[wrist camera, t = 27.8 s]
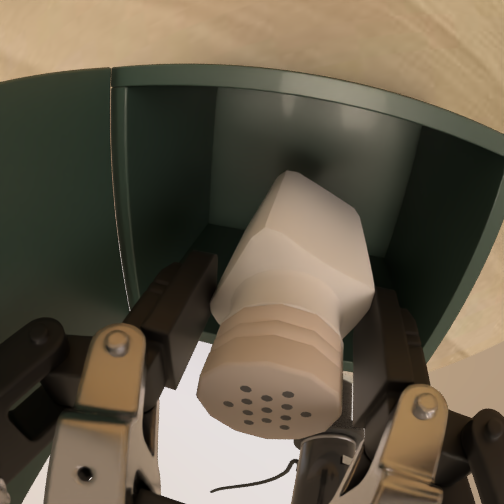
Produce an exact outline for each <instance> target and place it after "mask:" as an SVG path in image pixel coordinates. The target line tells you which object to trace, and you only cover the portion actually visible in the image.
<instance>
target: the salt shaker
mask: <svg viewBox="0 0 504 504" xmlns="http://www.w3.org/2000/svg"><path fill="white" fill-rule="evenodd" d="M374 293H375V288H374V281H373V275H372V270H371V265H370V260H369V255H368V251H367V246H366V242H365V237H364V233H363V228H362V224H361V220H360V216H359V215H358V213H357V212H356V210H355V209H354V208H353V207H352V206H350V205H349V204H347V203H346V202H344V201H343V200H341V199H339V198H338V197H336V196H335V195H333V194H332V193H330V192H329V191H327V190H326V189H324V188H322V187H321V186H319V185H318V184H316V183H315V182H313V181H311V180H310V179H308V178H306V177H305V176H303V175H302V174H300V173H298V172H294V171H288V170H286V171H285V172H284V173H282V174H281V175H279V176H278V177H277V179H276V180H275V182H274V183H273V185H272V187H271V188H270V190H269V192H268V193H267V195H266V196H265V198H264V200H263V201H262V203H261V205H260V206H259V208H258V210H257V211H256V213H255V214H254V216H253V218H252V219H251V221H250V223H249V224H248V226H247V228H246V230H245V232H244V234H243V236H242V238H241V240H240V242H239V244H238V246H237V248H236V250H235V252H234V253H233V255H232V257H231V259H230V261H229V263H228V265H227V267H226V269H225V271H224V273H223V275H222V277H221V279H220V282H219V284H218V286H217V288H216V290H215V292H214V294H213V296H212V298H211V300H210V311H211V313H212V315H213V316H214V318H215V319H216V321H217V322H218V324H220V327H219V330H218V332H217V336H216V339H215V340H214V343H213V345H212V347H211V352H210V353H209V355H208V357H207V360H206V362H205V364H204V367H203V369H202V372H201V374H200V378H199V383H198V388H197V394H196V395H197V398H198V399H199V401H200V402H201V403H202V405H203V406H204V408H205V409H206V410H207V412H208V413H209V414H210V416H212V417H213V418H215V419H217V420H218V421H220V422H222V423H223V424H225V425H227V426H229V427H230V428H232V429H234V430H236V431H239V432H243V433H246V434H250V435H254V436H257V437H261V438H265V439H301V438H305V437H308V436H312V435H315V434H318V433H321V432H325V431H326V430H327V429H328V428H329V427H330V426H331V425H332V424H333V423H334V422H335V421H336V420H337V419H338V418H339V417H340V416H341V414H342V393H343V389H342V386H343V373H342V372H343V349H344V343H343V340H342V339H343V338H344V337H345V336H346V335H347V334H348V333H349V332H350V331H351V330H352V329H353V328H354V327H355V326H356V325H357V324H358V322H359V321H360V320H361V319H362V318H363V316H364V315H365V314H366V313H367V311H368V310H369V309H370V307H371V303H372V300H373V297H374Z"/></svg>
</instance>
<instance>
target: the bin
mask: <svg viewBox="0 0 504 504" xmlns="http://www.w3.org/2000/svg"><path fill="white" fill-rule="evenodd" d="M111 87H113V88H111V151H112V172H113V187H114V199H115V210H116V220H117V229H118V237H119V244H120V251H121V259H122V266H123V272H124V279H125V285H126V291H127V296H128V302H129V307H130V311H131V309H132V308H133V307H134V305H135V304H136V302H137V301H138V300H139V298H140V297H141V296H142V294H143V293H144V292H145V291H147V288H148V287H149V285H150V284H151V283H152V282H153V281H154V279H155V277H156V276H157V275H158V273H159V272H160V271H161V270H162V269H163V268H165V267H167V266H168V265H170V264H172V263H173V262H178V263H184V261H185V260H186V259H187V257H188V256H189V254H190V253H191V252H192V251H193V250H198V251H203V252H208V253H213V254H217V256H218V268H217V286H218V284H219V282H220V279H221V277H222V275H223V273H224V271H225V269H226V267H227V265H228V263H229V261H230V259H231V257H232V255H233V253H234V252H235V250H236V248H237V246H238V244H239V242H240V240H241V238H242V236H243V234H244V232H245V230H246V228H247V226H248V224H249V223H250V221H251V219H252V218H253V216H254V214H255V213H256V211H257V210H258V208H259V206H260V205H261V203H262V201H263V200H264V198H265V196H266V195H267V193H268V192H269V190H270V188H271V187H272V185H273V183H274V182H275V180H276V179H277V177H278V176H279V175H281V174H282V173H284V172H285V171H286V170H288V171H294V172H298V173H300V174H302V175H303V176H305V177H306V178H308V179H310V180H311V181H313V182H315V183H316V184H318V185H319V186H321V187H322V188H324V189H326V190H327V191H329V192H330V193H332V194H333V195H335V196H336V197H338V198H339V199H341V200H343V201H344V202H346V203H347V204H349V205H350V206H352V207H353V208H354V209H355V210H356V212H357V213H358V215H359V216H360V220H361V224H362V228H363V233H364V237H365V242H366V246H367V251H368V255H369V260H370V265H371V270H372V275H373V281H374V286H377V287H382V288H387V289H392V290H395V291H396V294H397V298H398V302H399V306H400V307H401V308H406V309H408V311H409V312H410V314H411V315H412V316H413V318H414V319H415V321H416V324H417V328H418V332H419V335H418V336H420V340H421V347H422V348H423V352H424V357H425V361H426V364H427V362H428V361H429V359H430V358H431V356H432V355H433V353H434V352H435V350H436V349H437V347H438V346H439V344H440V343H441V341H442V340H443V338H444V337H445V335H446V333H447V332H448V330H449V329H450V327H451V325H452V324H453V322H454V320H455V319H456V317H457V315H458V314H459V312H460V310H461V308H462V307H463V305H464V303H465V301H466V299H467V297H468V296H469V294H470V292H471V290H472V288H473V286H474V284H475V282H476V280H477V278H478V276H479V274H480V272H481V270H482V268H483V266H484V264H485V262H486V260H487V258H488V255H489V253H490V251H491V249H492V246H493V244H494V242H495V239H496V237H497V235H498V232H499V230H500V227H501V225H502V222H503V220H504V134H502V133H500V132H498V131H496V130H494V129H492V128H490V127H487V126H485V125H483V124H481V123H478V122H476V121H474V120H471V119H469V118H466V117H464V116H462V115H459V114H456V113H454V112H451V111H449V110H446V109H443V108H440V107H438V106H435V105H432V104H429V103H426V102H423V101H420V100H417V99H414V98H411V97H407V96H404V95H401V94H397V93H394V92H390V91H387V90H383V89H379V88H375V87H371V86H367V85H363V84H359V83H355V82H350V81H346V80H341V79H336V78H331V77H325V76H320V75H314V74H308V73H302V72H295V71H288V70H280V69H272V68H262V67H251V66H238V65H221V64H152V65H135V66H123V67H113V68H112V69H111ZM219 327H220V324H218V322H217V321H216V319H215V318H214V316H213V315H212V313H211V315H210V317H209V319H208V322H207V324H206V326H205V328H204V330H203V332H202V334H201V337H200V339H199V341H202V342H206V343H210V344H213V343H214V340H215V339H216V336H217V332H218V330H219ZM354 328H355V327H354ZM354 328H353V329H352V330H351V331H350V332H349V333H348V334H347V335H346V336H345V337H344V338H343V339H342V340H343V343H344V349H343V371H348V372H353V332H354Z"/></svg>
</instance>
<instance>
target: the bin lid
mask: <svg viewBox="0 0 504 504" xmlns="http://www.w3.org/2000/svg"><path fill="white" fill-rule="evenodd" d="M110 83H111V68H109V67H105V68H91V69H79V70H70V71H61V72H54V73H46V74H40V75H34V76H28V77H23V78H17V79H12V80H8V81H3V82H0V344H1V343H3V342H4V341H5V340H6V339H8V338H9V337H10V336H12V335H13V334H14V333H16V332H17V331H18V330H19V329H21V328H22V327H23V326H25V325H26V324H27V323H29V322H30V321H32V320H34V319H37V318H41V317H50V318H54V319H56V320H58V321H59V322H60V323H61V324H62V326H63V328H64V331H65V333H66V334H68V335H80V336H94V334H95V333H96V332H97V331H98V330H100V329H101V328H103V327H105V326H107V325H110V324H114V323H122V321H123V320H124V319H125V317H126V316H127V315H128V313H129V312H130V311H129V305H128V299H127V294H126V289H125V283H124V277H123V270H122V264H121V257H120V250H119V242H118V235H117V226H116V217H115V207H114V196H113V183H112V167H111V145H110ZM40 386H41V383H40V382H39V383H37V384H36V385H35V386H34V387H33V388H32V389H31V390H29V391H28V392H27V393H26V394H25V395H24V396H23V397H21V398H20V399H19V400H18V401H17V402H16V403H15V404H14V405H12V407H11V408H10V409H9V411H10V410H13V409H15V408H16V407H17V406H18V405H19V404H20V403H22V402H23V401H24V400H25V399H26V398H27V397H28V396H29V395H31V394H32V393H33V392H34V391H35V390H36V389H37V388H39V387H40ZM52 443H53V441H52V442H51V443H50V444H49V445H48V446H46V447H45V448H44V449H43V450H42V451H41V452H40V453H39V454H38V455H37V456H36V457H35V458H34V459H33V460H32V461H31V462H30V463H29V464H28V465H27V466H26V467H25V468H24V469H23V470H22V471H21V472H20V473H19V474H18V475H17V476H16V477H15V478H14V479H13V480H12V481H11V482H10V483H9V484H7V485H6V489H7V492H8V493H9V495H10V499H11V500H10V504H22V502H23V500H24V498H25V496H26V494H27V493H28V491H29V489H30V487H31V486H32V484H33V482H34V481H35V479H36V477H37V476H38V474H39V472H40V470H41V469H42V467H43V465H44V463H45V462H46V460H47V459H48V457H49V455H50V454H51V449H52Z"/></svg>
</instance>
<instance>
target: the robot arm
mask: <svg viewBox="0 0 504 504" xmlns="http://www.w3.org/2000/svg"><path fill="white" fill-rule="evenodd" d="M217 268H218V256H217V254H213V253H208V252H203V251H198V250H193V251H192V252H191V253H190V254H189V256H188V257H187V259H186V260H185V261H184V263H178V262H173V263H172V264H170V265H168V266H167V267H165V268H163V269H162V270H161V271H160V272H159V273H158V275H157V276H156V277H155V279H154V281H153V282H152V283H151V284H150V285H149V287H148V288H147V291H145V292H144V293H143V294H142V296H141V297H140V298H139V300H138V301H137V302H136V304H135V305H134V307H133V308H132V309H131V311H130V312H129V313H128V315H127V316H126V317H125V319H124V320H123V321H122V323H114V324H110V325H107V326H105V327H103V328H101V329H100V330H98V331H97V332H96V333H95V334H94V336H80V335H68V334H66V333H65V331H64V328H63V326H62V324H61V323H60V322H59V321H58V320H56V319H54V318H50V317H41V318H37V319H34V320H32V321H30V322H29V323H27V324H26V325H25V326H23V327H22V328H21V329H19V330H18V331H17V332H16V333H14V334H13V335H12V336H10V337H9V338H8V339H6V340H5V341H4V342H3V343H1V344H0V504H10V500H11V499H10V495H9V493H8V492H7V489H6V485H7V484H9V483H10V482H11V481H12V480H13V479H14V478H15V477H16V476H17V475H18V474H19V473H20V472H21V471H22V470H23V469H24V468H25V467H26V466H27V465H28V464H29V463H30V462H31V461H32V460H33V459H34V458H35V457H36V456H37V455H38V454H39V453H40V452H41V451H42V450H43V449H44V448H45V447H46V446H48V445H49V444H50V443H51V442H52V441H53V443H52V449H51V454H50V460H49V466H48V472H47V479H46V486H45V495H44V504H185V503H181V502H179V501H176V500H173V499H170V498H167V497H164V496H161V485H160V473H159V467H158V424H159V397H160V395H161V393H162V391H163V389H164V387H168V388H171V389H174V390H176V389H177V386H178V384H179V382H180V380H181V378H182V375H183V373H184V371H185V369H186V366H187V365H188V362H189V360H190V358H191V356H192V354H193V352H194V349H195V347H196V345H197V343H198V341H199V339H200V337H201V334H202V332H203V330H204V328H205V326H206V324H207V322H208V319H209V317H210V315H211V311H210V300H211V298H212V296H213V294H214V292H215V290H216V288H217ZM374 288H375V293H374V297H373V300H372V303H371V307H370V309H369V310H368V311H367V313H366V314H365V315H364V316H363V318H362V319H361V320H360V321H359V322H358V324H357V325H356V326H355V328H354V332H353V427H354V428H365V438H364V439H363V440H362V441H361V442H360V444H359V446H358V448H357V450H356V440H355V439H354V438H353V437H351V436H349V435H347V434H343V433H335V432H323V433H318V434H315V435H312V436H308V437H305V438H303V439H302V441H301V446H300V449H301V450H300V456H299V460H297V459H293V460H291V461H290V463H289V465H288V467H287V468H286V470H285V471H284V472H282V473H280V474H279V475H277V476H275V477H272V478H270V479H267V480H263V481H259V482H254V483H249V484H242V485H234V486H227V487H221V488H217V489H214V490H212V491H210V492H211V493H213V492H215V491H219V490H224V489H232V488H240V487H248V486H254V485H259V484H263V483H267V482H270V481H273V480H276V479H278V478H280V477H282V476H284V475H285V474H286V473H288V472H289V470H290V469H291V467H292V465H293V464H294V463H297V469H296V471H297V474H296V480H295V485H294V491H293V496H292V502H291V504H475V501H474V497H473V494H472V491H471V488H470V485H469V482H468V479H467V476H468V475H469V474H471V473H472V474H473V477H474V480H475V483H476V487H477V489H478V493H479V496H480V499H481V503H482V504H504V417H503V416H502V415H501V414H500V413H499V412H497V411H495V410H493V409H483V410H481V411H479V412H478V413H477V414H476V415H475V416H474V417H473V418H470V417H467V416H464V415H461V414H459V413H456V412H453V411H451V410H449V409H448V406H447V403H446V400H445V399H444V397H443V396H442V394H441V393H440V392H439V391H437V390H436V389H435V388H433V387H431V386H430V381H429V376H428V371H427V366H426V361H425V357H424V352H423V348H422V347H421V340H420V336H418V335H419V332H418V328H417V324H416V321H415V319H414V318H413V316H412V315H411V314H410V312H409V311H408V309H406V308H401V307H400V306H399V302H398V298H397V294H396V291H395V290H392V289H387V288H382V287H377V286H374ZM39 382H40V383H41V386H40V387H39V388H37V389H36V390H35V391H34V392H33V393H32V394H31V395H29V396H28V397H27V398H26V399H25V400H24V401H23V402H22V403H20V404H19V405H18V406H17V407H16V408H15V409H13V410H10V411H9V409H10V408H11V407H12V405H14V404H15V403H16V402H17V401H18V400H19V399H20V398H21V397H23V396H24V395H25V394H26V393H27V392H28V391H29V390H31V389H32V388H33V387H34V386H35V385H36V384H37V383H39ZM355 450H356V452H355ZM91 477H92V479H91V480H89V479H90V478H91Z"/></svg>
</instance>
